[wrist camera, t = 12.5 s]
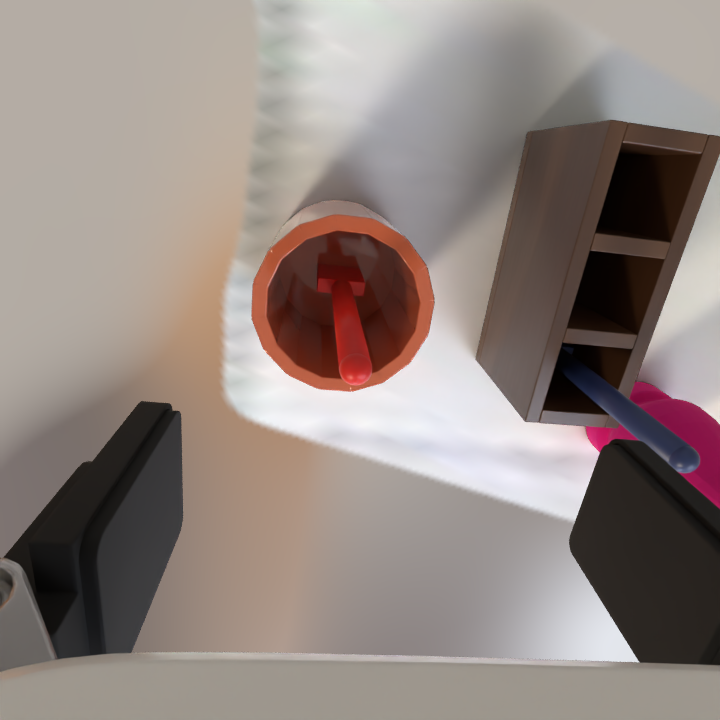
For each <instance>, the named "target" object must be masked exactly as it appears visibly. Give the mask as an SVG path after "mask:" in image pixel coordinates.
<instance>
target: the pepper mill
mask: <svg viewBox="0 0 720 720" xmlns="http://www.w3.org/2000/svg"><path fill="white" fill-rule="evenodd" d="M629 399H630V400H631V401H633V402H634V403H635V404H637V405H638V406H639V407H640V408H642V409H643V410H644V411H646V412H647V413H648V414H650V415H651V416H652V417H654V418H655V419H656V420H657V421H659V422H660V423H661V424H663V425H664V426H665V427H667V428H668V429H669V430H671V431H672V432H673V433H674V434H676V435H677V436H678V437H680V438H681V439H682V440H684V441H685V442H686V443H688V444H689V445H690V446H691V447H693V448H694V449H695V450H696V451H697V452H698V454H699V456H700V464H699V466H698V468H697V469H696V470H694V471H693V472H690V473H680V474H681V475H682V476H683V477H684V478H685V479H686V480H687V481H689V482H690V483H691V484H692V485H693V486H694V487H695V488H697V489H698V490H699V491H700V492H701V493H702V494H703V495H704V496H706V497H707V498H708V499H709V500H710V501H711V502H712V503H713V504H715V505H716V506H717V507H718V508H719V509H720V425H719V424H718V422H717V421H716V420H715V419H714V418H712V417H711V416H710V415H709V414H707V413H706V412H705V411H704V410H702V409H701V408H700V407H698V406H696V405H694V404H692V403H690V402H687V401H683V400H678V399H672V398H671V397H669V396H668V395H666V394H665V393H663V392H662V391H661V390H659V389H658V388H656V387H655V386H653V385H650V384H647V383H644V382H635V384H634V386H633V389H632V392H631V394H630V397H629ZM586 432H587V436H588V439H589V440H590V442H591V443H592V445H593V446H594V447H595V448H596V449H597V450H598V451H599V452H601V449H602V447H603V446H604V445H607V444H609V442H610V441H611V440H613V439H628V440H638V439H637V438H636V437H635V436H634V435H632V434H631V433H630V432H629V431H628V430H627V429H626V428H624V427H623V426H622V425H621V424H619V427H618V428H606V427H590V426H586ZM678 473H679V472H678Z"/></svg>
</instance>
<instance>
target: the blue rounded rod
mask: <svg viewBox="0 0 720 720" xmlns="http://www.w3.org/2000/svg"><path fill="white" fill-rule="evenodd" d="M573 350H574V348H573V347H572V346H571V345H569V344H568V343H563V342H562V345H561V348H560V352H559V355H558V359H557V362H556V365H555V367H556V368H557V369H558V370H559V371H560V372H561V373H562V374H564V375H565V376H566V377H567V378H568V379H569V380H570V381H572V382H573V383H574V384H575V385H576V386H577V387H578V388H580V389H581V390H582V391H583V392H584V393H585V394H587V395H588V396H589V397H590V398H591V399H592V400H593V401H595V402H596V403H597V404H598V405H599V406H600V407H601V408H603V409H604V410H605V411H606V412H607V413H608V414H609V415H611V416H612V417H613V418H614V419H615V420H616V421H618V422H619V423H620V424H621V425H622V426H623V427H624V428H626V429H627V430H628V431H629V432H630V433H631V434H632V435H634V436H635V437H636V438H637V439H638V440H639V441H642V442H644V443H646V444H647V445H648V446H649V447H650V448H651V449H652V450H653V451H655V452H656V453H657V454H658V455H659V456H660V457H661V458H663V459H664V460H665V461H666V462H667V463H668V464H669V465H670V466H672V467H673V468H674V469H675V470H676V471H677V472H679V473H690V472H693V471H694V470H696V469H697V468H698V466H699V464H700V456H699V454H698V452H697V451H696V450H695V449H694V448H693V447H691V446H690V445H689V444H688V443H686V442H685V441H684V440H682V439H681V438H680V437H678V436H677V435H676V434H674V433H673V432H672V431H671V430H669V429H668V428H667V427H665V426H664V425H663V424H661V423H660V422H659V421H657V420H656V419H655V418H654V417H652V416H651V415H650V414H648V413H647V412H646V411H644V410H643V409H642V408H640V407H639V406H638V405H637V404H635V403H634V402H633V401H631V400H630V399H629V398H627V397H626V396H625V395H623V394H622V393H621V392H620V391H618V390H617V389H616V388H614V387H613V386H612V385H610V384H609V383H608V382H606V381H605V380H604V379H603V378H601V377H600V376H599V375H597V374H596V373H595V372H593V371H592V370H591V369H589V368H588V367H587V366H586V365H584V364H583V363H582V362H580V361H579V360H578V359H576V358H575V357H574V356H572V353H573Z"/></svg>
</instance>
